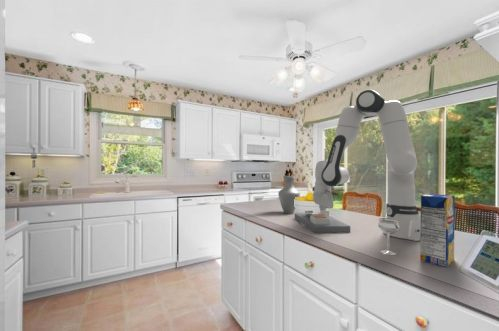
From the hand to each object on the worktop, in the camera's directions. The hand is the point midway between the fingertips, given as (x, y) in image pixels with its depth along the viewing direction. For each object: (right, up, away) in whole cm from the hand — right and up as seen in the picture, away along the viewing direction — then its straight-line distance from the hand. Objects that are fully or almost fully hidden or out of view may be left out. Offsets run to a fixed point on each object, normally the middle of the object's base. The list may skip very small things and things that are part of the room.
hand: (322, 213), depth 135 cm
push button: (-6, 0, -14) cm, 15 cm away
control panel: (-3, -5, -5) cm, 8 cm away
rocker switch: (-7, +1, +2) cm, 8 cm away
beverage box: (+23, -5, -54) cm, 58 cm away
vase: (-15, -5, +28) cm, 32 cm away
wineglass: (+10, -5, -47) cm, 48 cm away
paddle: (0, -1, -3) cm, 3 cm away
